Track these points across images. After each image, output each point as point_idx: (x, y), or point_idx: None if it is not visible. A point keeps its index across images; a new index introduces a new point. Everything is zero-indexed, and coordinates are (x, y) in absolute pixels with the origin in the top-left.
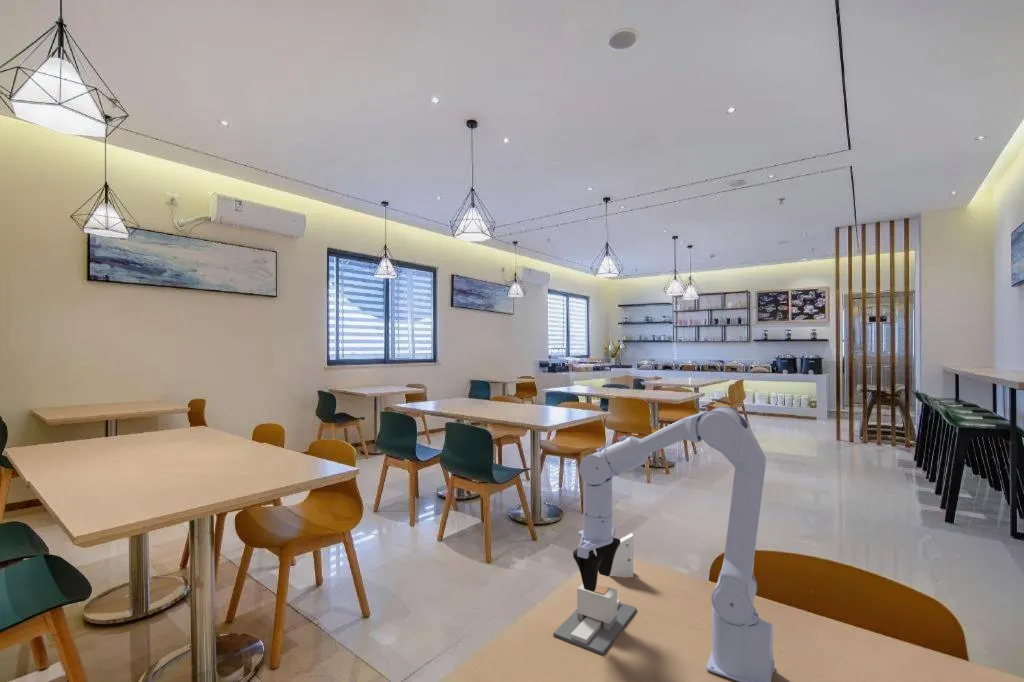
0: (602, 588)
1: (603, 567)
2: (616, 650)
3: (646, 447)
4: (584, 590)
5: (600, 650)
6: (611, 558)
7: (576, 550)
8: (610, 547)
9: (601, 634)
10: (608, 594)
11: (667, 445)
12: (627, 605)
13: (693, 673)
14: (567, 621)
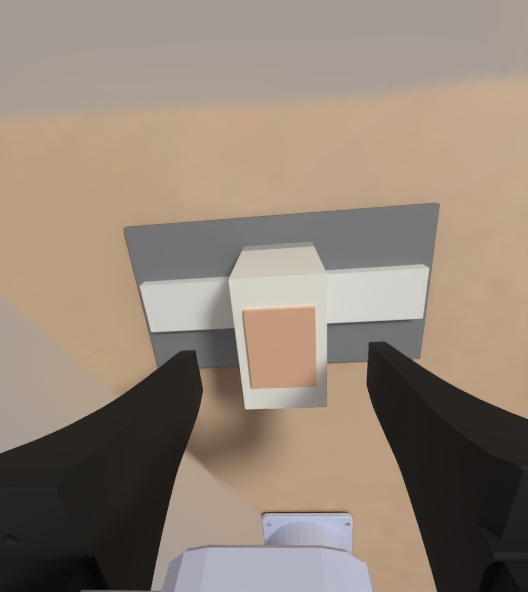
0: (293, 367)
1: (380, 387)
2: (201, 380)
3: None
4: (233, 313)
5: (160, 362)
6: (404, 479)
7: (15, 501)
8: (440, 559)
9: (221, 338)
10: (269, 397)
11: None
12: (418, 334)
13: (240, 498)
14: (207, 229)
